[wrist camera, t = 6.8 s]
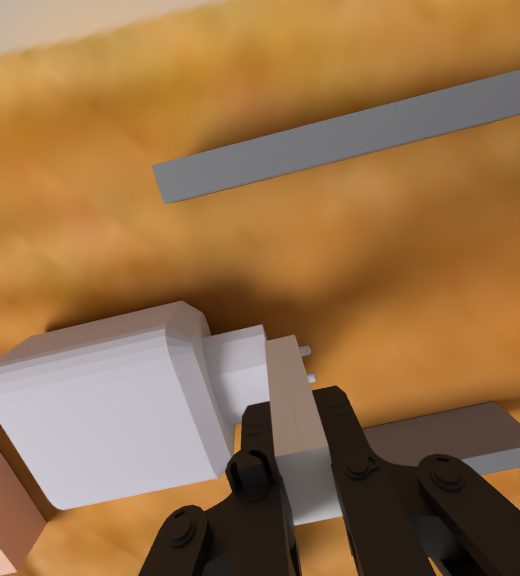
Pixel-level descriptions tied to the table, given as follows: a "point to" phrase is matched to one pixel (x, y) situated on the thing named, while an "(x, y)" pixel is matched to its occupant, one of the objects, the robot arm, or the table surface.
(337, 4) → the table surface
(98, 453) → the charger
